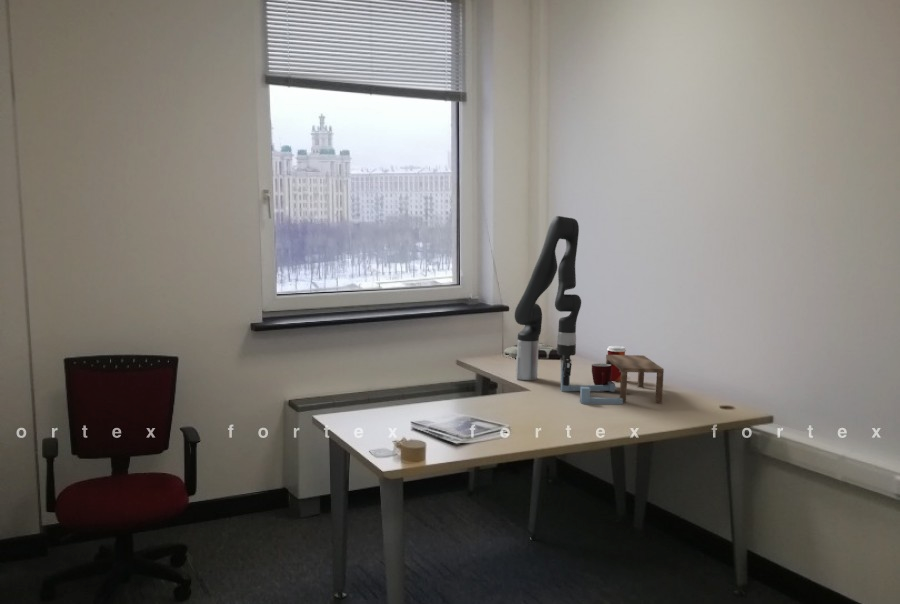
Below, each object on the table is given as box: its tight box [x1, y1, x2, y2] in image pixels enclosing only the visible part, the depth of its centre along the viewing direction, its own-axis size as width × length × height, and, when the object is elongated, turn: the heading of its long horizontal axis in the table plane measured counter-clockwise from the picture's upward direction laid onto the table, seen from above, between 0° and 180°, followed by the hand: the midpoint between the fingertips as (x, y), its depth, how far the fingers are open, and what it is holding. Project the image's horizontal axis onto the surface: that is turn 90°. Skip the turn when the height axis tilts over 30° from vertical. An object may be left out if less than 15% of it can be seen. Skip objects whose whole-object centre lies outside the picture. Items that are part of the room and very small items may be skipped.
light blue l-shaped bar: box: [560, 365, 616, 392], centre depth 322 cm, size 22×5×10 cm, turn 90°
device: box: [503, 342, 562, 360], centre depth 405 cm, size 33×27×5 cm
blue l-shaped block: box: [579, 387, 624, 405], centre depth 302 cm, size 16×3×6 cm, turn 91°
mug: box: [591, 363, 611, 385], centre depth 326 cm, size 10×8×10 cm
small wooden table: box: [605, 354, 665, 404], centre depth 318 cm, size 16×30×14 cm, turn 1°
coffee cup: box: [606, 345, 627, 382], centre depth 345 cm, size 8×8×15 cm
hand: (565, 384), depth 322 cm, fingers closed on light blue l-shaped bar, 3 cm apart
